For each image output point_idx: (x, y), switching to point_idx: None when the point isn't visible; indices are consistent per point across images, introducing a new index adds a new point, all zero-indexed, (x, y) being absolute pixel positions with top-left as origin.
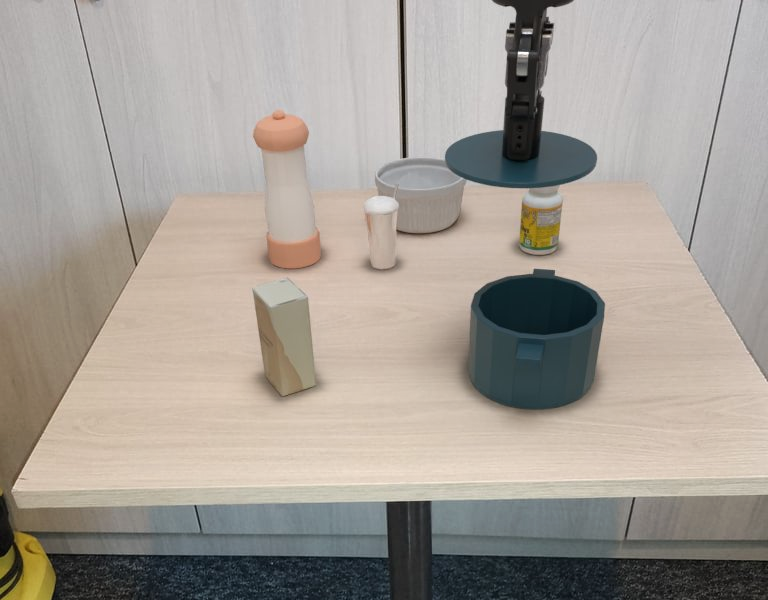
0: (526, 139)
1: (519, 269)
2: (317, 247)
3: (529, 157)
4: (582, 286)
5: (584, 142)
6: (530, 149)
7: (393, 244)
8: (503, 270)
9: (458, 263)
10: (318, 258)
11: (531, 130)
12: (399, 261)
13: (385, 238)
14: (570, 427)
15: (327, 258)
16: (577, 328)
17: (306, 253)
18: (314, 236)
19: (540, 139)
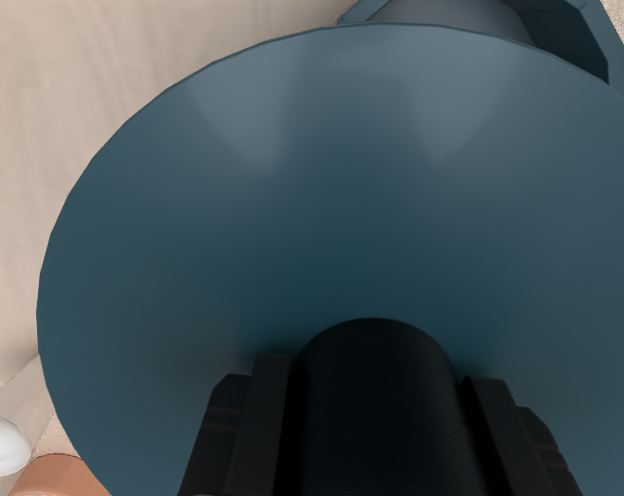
0: (561, 468)
1: (6, 115)
2: (58, 473)
3: (500, 379)
4: (371, 7)
5: (185, 83)
6: (512, 402)
7: (41, 375)
8: (21, 150)
9: (15, 239)
10: (68, 458)
11: (549, 480)
12: (37, 340)
13: (48, 399)
14: (616, 27)
15: (58, 444)
16: (595, 35)
17: (84, 485)
18: (51, 493)
19: (395, 362)
